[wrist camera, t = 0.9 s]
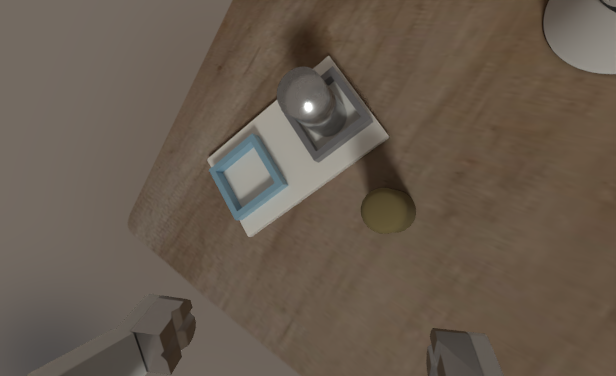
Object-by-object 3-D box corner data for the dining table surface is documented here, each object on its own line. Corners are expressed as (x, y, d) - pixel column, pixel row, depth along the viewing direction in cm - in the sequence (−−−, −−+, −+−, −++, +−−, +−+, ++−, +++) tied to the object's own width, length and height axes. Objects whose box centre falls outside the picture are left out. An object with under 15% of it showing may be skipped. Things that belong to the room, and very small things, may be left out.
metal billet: (333, 89, 48) (306, 56, 38) (354, 119, 46) (332, 93, 36) (302, 114, 49) (268, 89, 39) (322, 144, 48) (292, 126, 38)
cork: (363, 211, 46) (343, 211, 36) (391, 180, 45) (380, 171, 34) (394, 241, 44) (383, 250, 34) (425, 210, 43) (423, 209, 33)
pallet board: (330, 58, 50) (324, 49, 47) (389, 137, 45) (386, 132, 42) (210, 160, 57) (199, 157, 54) (251, 236, 52) (241, 238, 50)
